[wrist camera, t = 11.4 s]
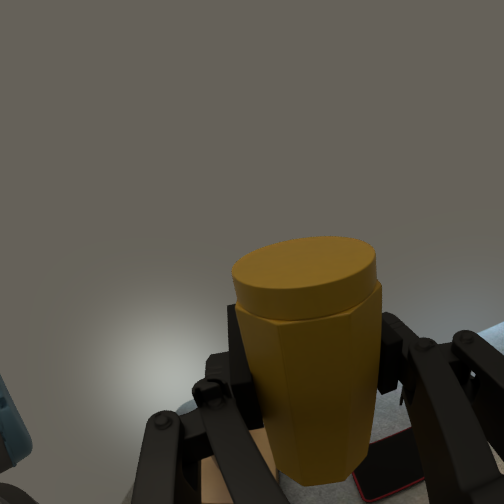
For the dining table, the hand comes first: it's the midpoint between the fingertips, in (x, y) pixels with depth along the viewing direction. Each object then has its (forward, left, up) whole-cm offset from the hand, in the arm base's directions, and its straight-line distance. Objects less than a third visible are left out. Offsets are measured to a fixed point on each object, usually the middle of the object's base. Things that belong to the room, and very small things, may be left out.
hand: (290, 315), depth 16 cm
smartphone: (+12, 0, -21) cm, 24 cm away
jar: (+1, -5, -6) cm, 8 cm away
